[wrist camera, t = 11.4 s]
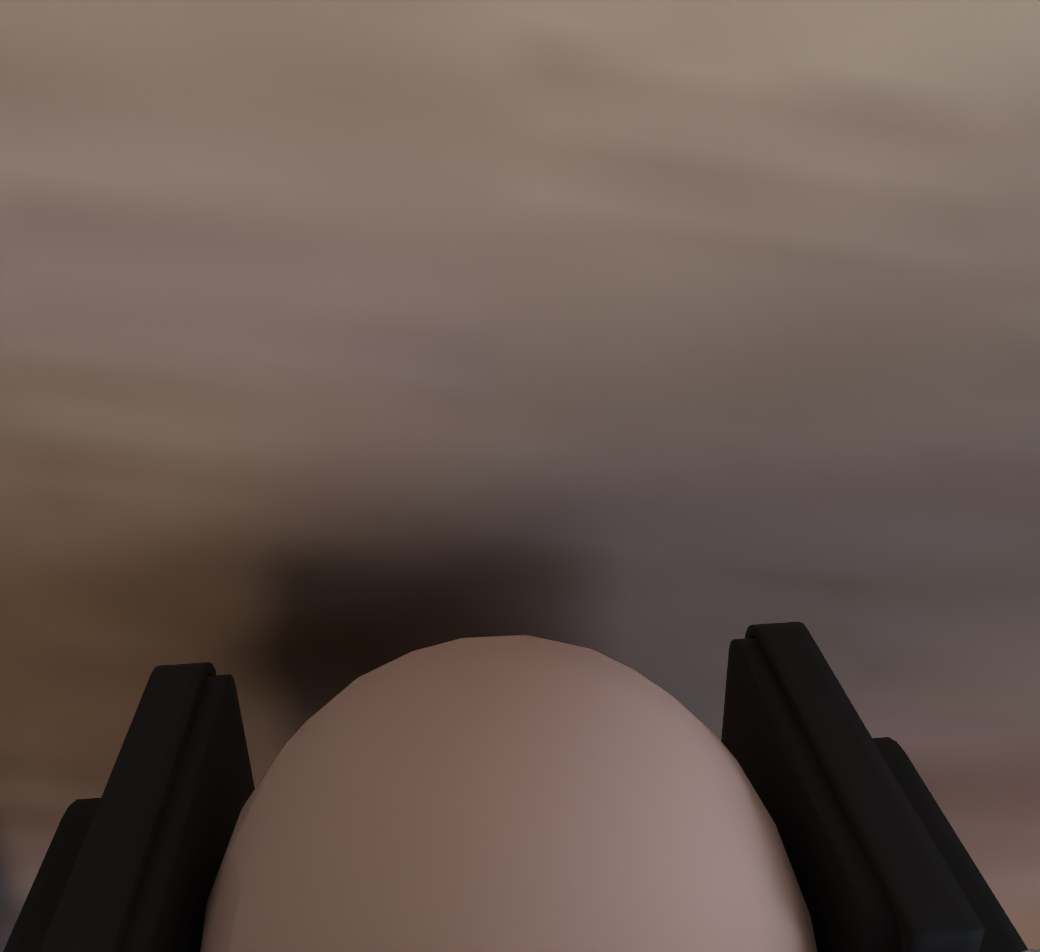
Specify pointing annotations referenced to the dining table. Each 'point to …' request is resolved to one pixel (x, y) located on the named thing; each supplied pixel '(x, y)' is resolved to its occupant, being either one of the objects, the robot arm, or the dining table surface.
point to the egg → (505, 819)
